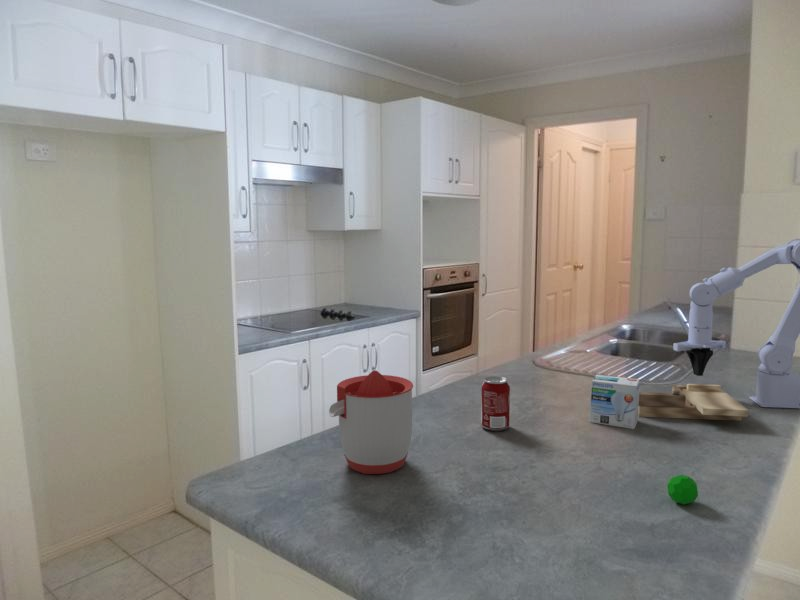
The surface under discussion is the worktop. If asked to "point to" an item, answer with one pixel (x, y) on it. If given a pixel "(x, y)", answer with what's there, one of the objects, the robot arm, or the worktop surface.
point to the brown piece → (680, 410)
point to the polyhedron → (682, 489)
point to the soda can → (495, 403)
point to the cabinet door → (662, 399)
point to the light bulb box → (614, 401)
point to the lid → (713, 400)
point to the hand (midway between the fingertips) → (698, 374)
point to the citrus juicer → (374, 421)
